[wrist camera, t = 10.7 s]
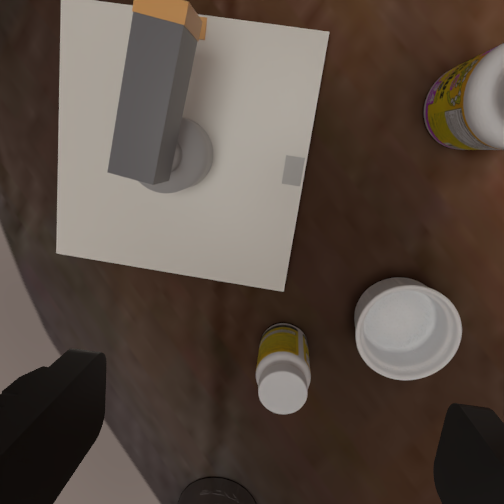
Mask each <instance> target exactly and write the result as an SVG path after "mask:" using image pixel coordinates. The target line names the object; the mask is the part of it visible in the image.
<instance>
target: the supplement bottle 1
mask: <svg viewBox="0 0 504 504" xmlns="http://www.w3.org/2000/svg"><path fill="white" fill-rule="evenodd" d="M256 381H257V384H258V395H259V399H260V401H261V403H262V404H263V405H264V406H265V407H266V408H267V409H268V410H270V411H272V412H274V413H277V414H290V413H293V412H296V411H297V410H299V409H300V408H301V407H302V406H303V405H304V403H305V402H306V399H307V394H308V391H307V389H308V387H309V385H310V381H311V372H310V362H309V352H308V343H307V339H306V337H305V335H304V333H303V332H302V331H301V330H300V329H299V328H297V327H296V326H294V325H291V324H287V323H279V324H275V325H273V326H271V327H269V328H268V329H267V330H266V331H265V332H264V334H263V335H262V338H261V341H260V347H259V354H258V361H257V367H256Z"/></svg>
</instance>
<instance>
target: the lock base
mask: <svg viewBox="0 0 504 504" xmlns="http://www.w3.org/2000/svg"><path fill="white" fill-rule="evenodd" d="M132 8H133V6H132V5H125V4H117V3H110V2H102V1H95V0H61V29H60V84H59V138H58V193H57V247H56V253H57V254H63V255H69V256H75V257H81V258H87V259H93V260H98V261H104V262H110V263H116V264H122V265H128V266H134V267H140V268H146V269H152V270H158V271H163V272H169V273H175V274H181V275H187V276H193V277H199V278H205V279H211V280H217V281H223V282H228V283H234V284H240V285H246V286H252V287H258V288H264V289H270V290H276V291H282V292H284V287H285V282H286V276H287V270H288V265H289V259H290V253H291V248H292V242H293V236H294V231H295V225H296V219H297V214H298V208H299V202H300V197H301V191H302V185H303V179H304V174H305V168H306V162H307V157H308V151H309V145H310V140H311V134H312V128H313V123H314V117H315V111H316V106H317V100H318V94H319V89H320V83H321V77H322V72H323V66H324V60H325V55H326V49H327V43H328V38H329V32H327V31H319V30H312V29H304V28H297V27H289V26H282V25H274V24H267V23H259V22H252V21H244V20H237V19H229V18H222V17H214V16H207V15H199V14H198V16H199V17H200V19H201V20H202V27H201V32H200V37H199V42H197V47H196V52H195V56H194V61H193V66H192V71H191V76H190V81H189V86H188V91H187V96H186V101H185V106H184V111H183V115H182V120H181V125H180V130H179V135H178V140H177V141H178V143H179V145H180V147H181V150H182V160H181V163H180V165H179V167H178V168H177V169H176V170H175V171H173V172H171V174H170V179H169V181H167V182H163V183H159V184H155V185H151V184H148V183H144V182H140V181H137V180H133V179H130V178H126V177H122V176H119V175H115V174H111V173H108V172H107V171H108V165H109V159H110V153H111V147H112V140H113V134H114V128H115V122H116V116H117V109H118V103H119V97H120V91H121V85H122V78H123V72H124V66H125V60H126V53H127V47H128V41H129V35H130V29H131V22H132V16H133V12H132Z"/></svg>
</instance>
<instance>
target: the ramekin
mask: <svg viewBox="0 0 504 504" xmlns="http://www.w3.org/2000/svg"><path fill="white" fill-rule="evenodd" d="M354 321H355V338H356V345H357V349H358V351H359V353H360V356H361V357H362V359H363V360H364V361H365V363H366V364H367V365H368V366H369V367H370V368H371V369H373V370H374V371H376V372H377V373H379V374H381V375H383V376H385V377H388V378H391V379H396V380H415V379H420V378H424V377H427V376H430V375H432V374H434V373H436V372H437V371H439V370H440V369H442V368H443V367H444V366H445V365H446V364H447V363H448V362H449V361H450V360H451V359H452V358H453V356H454V355H455V353H456V351H457V349H458V347H459V344H460V341H461V336H462V325H461V319H460V316H459V314H458V312H457V310H456V308H455V306H454V305H453V304H452V303H451V301H450V300H449V299H448V298H447V297H445V296H444V295H443V294H441V293H440V292H438V291H436V290H434V289H432V288H429V287H427V286H426V285H424V284H422V283H421V282H419V281H416V280H414V279H409V278H403V277H395V278H388V279H385V280H382V281H379V282H377V283H375V284H374V285H372V286H370V287H369V288H368V289H367V290H366V291H365V292H364V293H363V294H362V296H361V297H360V299H359V301H358V303H357V305H356V308H355V313H354Z"/></svg>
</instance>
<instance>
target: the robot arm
mask: <svg viewBox="0 0 504 504" xmlns="http://www.w3.org/2000/svg"><path fill="white" fill-rule="evenodd" d="M105 392H106V357H105V354H104V353H101V352H94V351H87V350H80V349H69V350H68V351H67V352H65V353H64V354H63V355H62V356H61V357H60V358H59V359H57V360H56V361H55V362H54V363H53V364H52V365H51V366H49V367H40V368H38V369H36V370H34V371H32V372H30V373H28V374H25V375H23V376H21V377H19V378H18V379H17V380H15V381H14V382H13V383H12V384H11V385H9V386H8V387H7V388H6V389H4V390H3V391H2V394H0V504H53V503H54V502H55V500H56V499H57V497H58V496H59V494H60V493H61V491H62V489H63V488H64V487H65V485H66V484H67V482H68V481H69V479H70V478H71V476H72V475H73V473H74V472H75V470H76V469H77V467H78V466H79V464H80V463H81V461H82V460H83V458H84V457H85V455H86V454H87V452H88V451H89V450H90V448H91V446H92V445H93V444H94V442H95V441H96V438H97V437H98V435H99V433H100V430H101V427H102V424H103V420H104V415H105ZM434 481H435V486H436V490H437V493H438V495H439V497H440V499H441V502H442V504H504V423H503V422H502V421H501V420H500V418H499V417H498V416H497V415H496V414H495V412H494V411H493V410H491V409H490V408H485V407H478V406H471V405H464V404H457V403H453V404H451V405H450V406H449V408H448V410H447V413H446V417H445V421H444V425H443V429H442V433H441V437H440V441H439V445H438V449H437V453H436V457H435V461H434ZM178 504H256V503H255V501H254V499H253V498H252V496H251V495H250V494H249V493H248V492H247V491H246V490H245V489H244V488H243V487H241V486H240V485H238V484H236V483H234V482H232V481H230V480H226V479H222V478H205V479H201V480H198V481H196V482H194V483H192V484H190V485H189V486H188V487H187V488H186V489H185V490H184V491H183V493H182V494H181V497H180V499H179V502H178Z"/></svg>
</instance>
